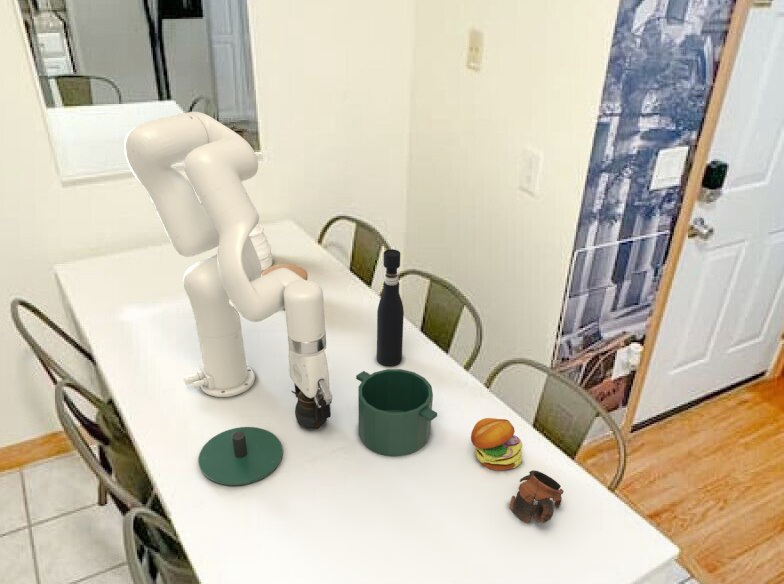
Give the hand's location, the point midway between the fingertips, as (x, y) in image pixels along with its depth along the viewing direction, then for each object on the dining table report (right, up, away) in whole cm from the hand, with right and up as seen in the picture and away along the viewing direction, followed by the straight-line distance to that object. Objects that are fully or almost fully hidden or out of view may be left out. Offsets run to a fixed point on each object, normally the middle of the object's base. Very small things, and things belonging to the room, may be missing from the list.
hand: (312, 406), depth 139 cm
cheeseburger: (+39, -11, -2) cm, 41 cm away
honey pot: (-31, +41, +64) cm, 82 cm away
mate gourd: (-1, -4, +3) cm, 5 cm away
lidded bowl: (-16, +27, +45) cm, 55 cm away
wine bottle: (+15, +10, +25) cm, 31 cm away
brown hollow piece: (+46, -19, -14) cm, 52 cm away
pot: (+17, -6, +2) cm, 19 cm away
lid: (-13, -9, -7) cm, 18 cm away
